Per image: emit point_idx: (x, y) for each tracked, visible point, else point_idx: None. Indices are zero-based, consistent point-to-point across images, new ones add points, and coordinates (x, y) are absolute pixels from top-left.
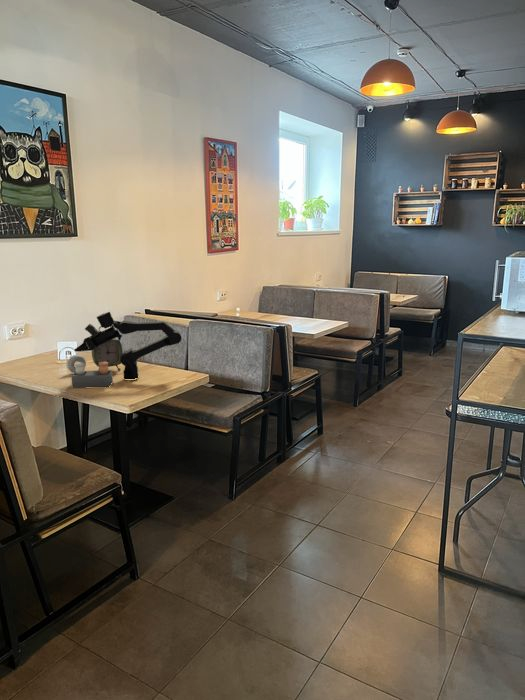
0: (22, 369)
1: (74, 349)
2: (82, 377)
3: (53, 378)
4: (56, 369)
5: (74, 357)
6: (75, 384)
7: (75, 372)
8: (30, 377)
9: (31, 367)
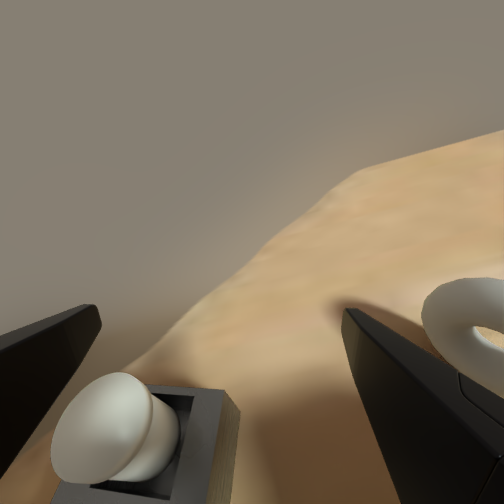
0: (440, 175)
1: (81, 305)
2: None
3: (334, 280)
4: (496, 253)
5: (494, 305)
6: None
7: (187, 391)
8: (342, 216)
9: (480, 183)
